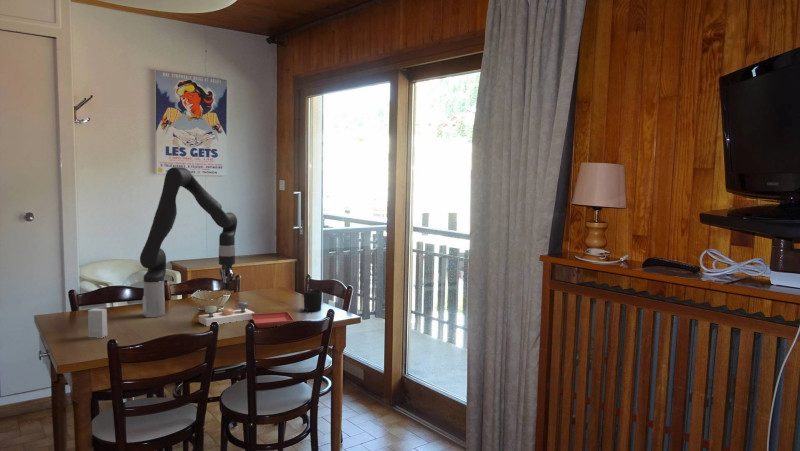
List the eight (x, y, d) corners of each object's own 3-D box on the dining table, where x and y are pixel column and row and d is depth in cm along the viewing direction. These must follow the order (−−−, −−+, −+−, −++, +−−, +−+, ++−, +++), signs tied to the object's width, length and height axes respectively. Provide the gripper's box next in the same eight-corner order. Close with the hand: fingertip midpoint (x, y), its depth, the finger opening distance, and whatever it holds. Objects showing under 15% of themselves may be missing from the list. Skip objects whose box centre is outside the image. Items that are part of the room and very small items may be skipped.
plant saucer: (250, 320, 271) (250, 313, 271) (287, 317, 278) (287, 311, 277) (254, 330, 254) (254, 323, 254) (294, 327, 261) (294, 320, 260)
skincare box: (107, 335, 239) (107, 308, 238) (102, 338, 235) (102, 310, 234) (93, 335, 239) (92, 308, 238) (88, 338, 235) (87, 310, 234)
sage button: (207, 319, 260) (207, 308, 259) (203, 317, 264) (203, 306, 263) (218, 318, 263) (218, 307, 263) (214, 315, 267) (214, 305, 267)
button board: (206, 326, 257) (206, 320, 257) (198, 321, 265) (198, 315, 265) (255, 318, 273) (255, 312, 272) (246, 314, 280) (246, 308, 280)
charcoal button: (240, 314, 270) (240, 304, 270) (235, 312, 274) (235, 302, 274) (250, 313, 273) (250, 303, 273) (245, 311, 277) (245, 301, 277)
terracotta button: (224, 321, 265) (224, 311, 265) (219, 319, 269) (219, 309, 269) (234, 320, 268) (234, 309, 268) (230, 317, 272) (230, 307, 272)
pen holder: (302, 308, 296) (302, 289, 295) (320, 307, 298) (320, 289, 297) (304, 312, 287) (304, 293, 286) (322, 311, 289) (323, 293, 288)
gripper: (213, 253, 269) (213, 288, 270) (224, 256, 259) (224, 293, 260) (228, 252, 273) (228, 286, 275) (240, 255, 263) (240, 291, 265)
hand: (226, 290), depth 268 cm, fingers closed
